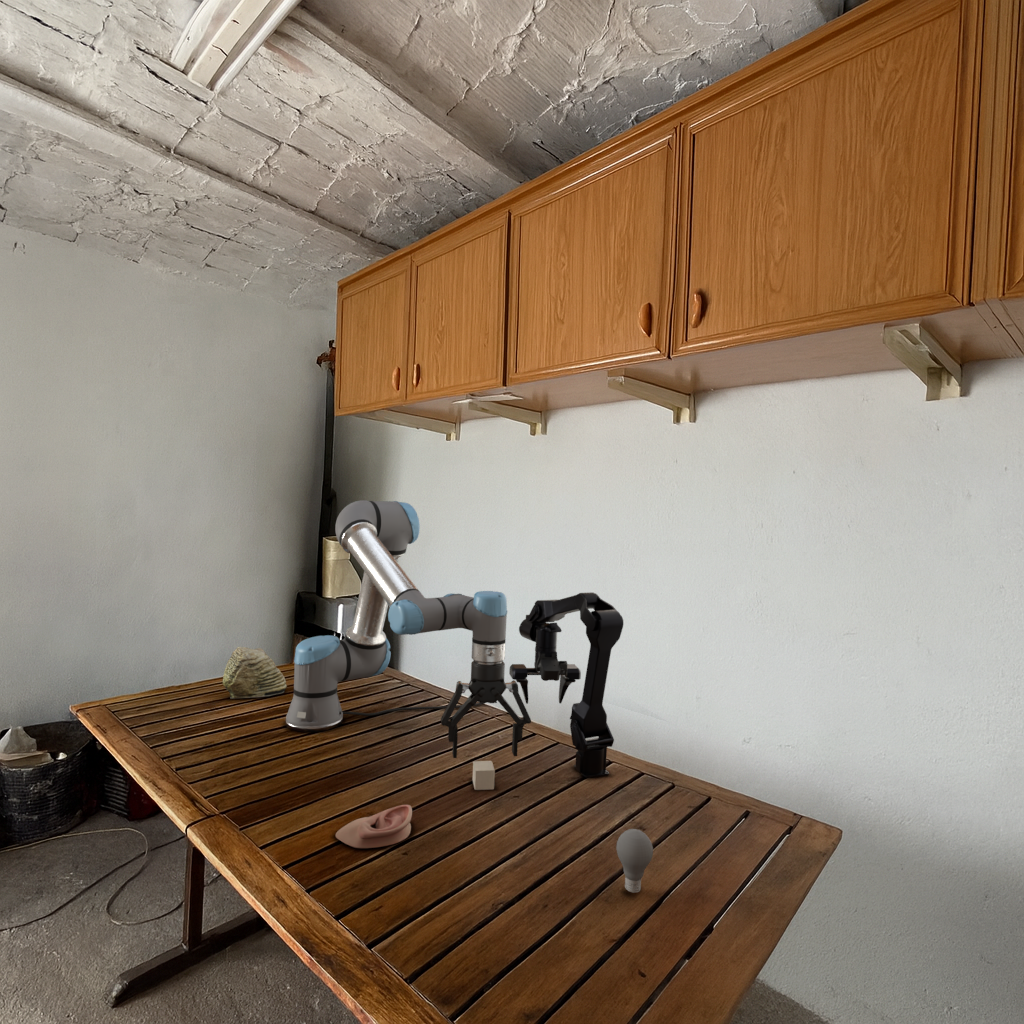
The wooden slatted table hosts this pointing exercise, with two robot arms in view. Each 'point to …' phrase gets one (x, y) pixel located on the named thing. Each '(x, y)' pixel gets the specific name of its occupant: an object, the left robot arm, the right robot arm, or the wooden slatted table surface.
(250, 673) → the fossil
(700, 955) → the wooden slatted table surface
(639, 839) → the light bulb
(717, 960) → the wooden slatted table surface
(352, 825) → the anatomical model
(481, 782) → the block
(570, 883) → the wooden slatted table surface
